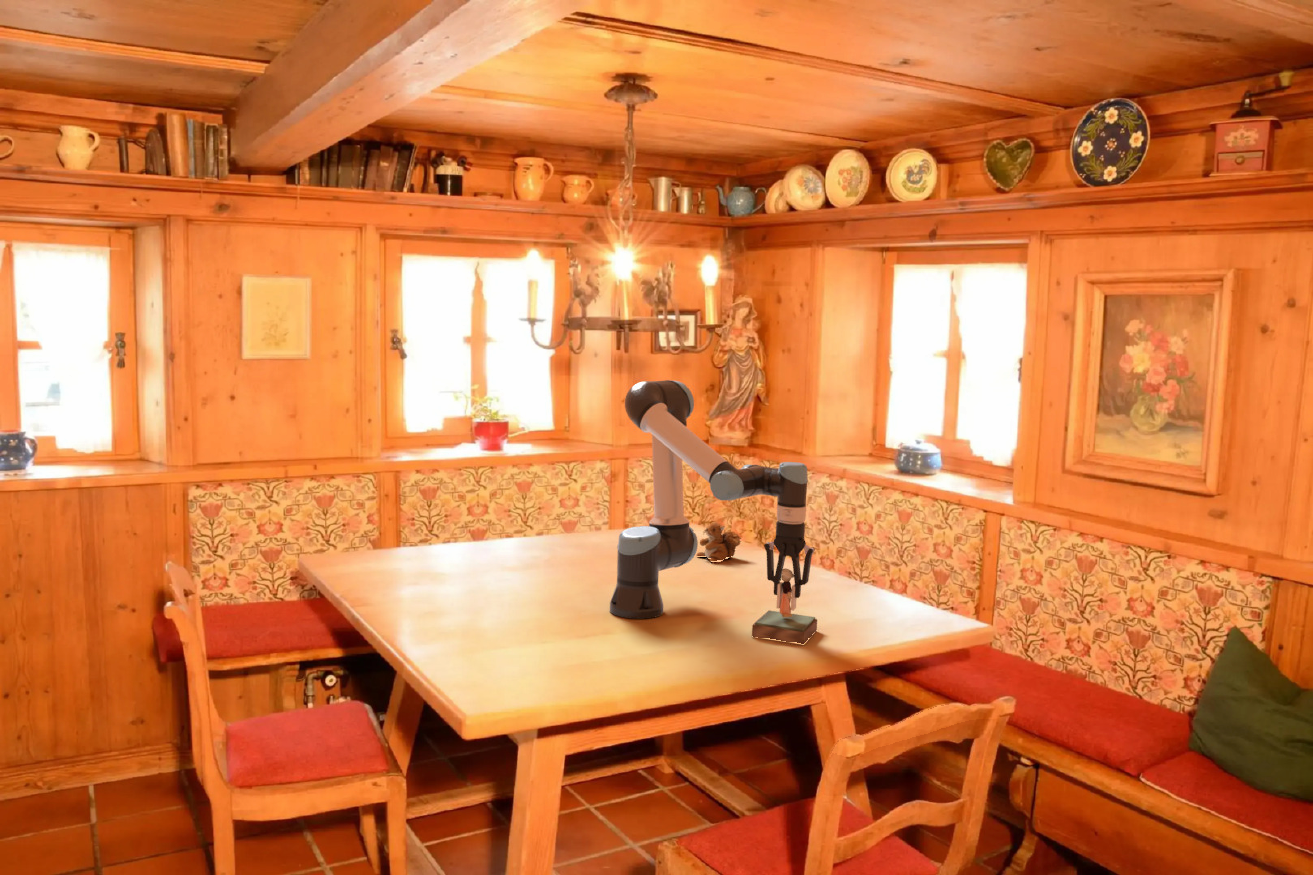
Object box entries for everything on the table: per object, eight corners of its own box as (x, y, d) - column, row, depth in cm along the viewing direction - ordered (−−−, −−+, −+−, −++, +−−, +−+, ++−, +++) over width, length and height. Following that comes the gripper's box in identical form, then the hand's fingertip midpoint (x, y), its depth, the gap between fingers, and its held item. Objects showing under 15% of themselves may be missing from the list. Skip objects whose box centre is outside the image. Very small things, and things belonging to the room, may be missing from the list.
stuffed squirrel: (694, 557, 365) (695, 520, 363) (729, 554, 370) (731, 518, 369) (706, 563, 356) (708, 525, 354) (743, 561, 361) (745, 523, 360)
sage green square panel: (751, 637, 275) (752, 622, 275) (766, 623, 288) (767, 609, 288) (803, 645, 270) (804, 630, 269) (816, 631, 283) (817, 616, 282)
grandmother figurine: (774, 612, 282) (774, 565, 280) (788, 611, 282) (788, 565, 281) (784, 619, 274) (784, 572, 273) (798, 618, 275) (798, 571, 274)
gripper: (757, 520, 275) (752, 607, 278) (817, 527, 269) (812, 615, 272) (765, 515, 282) (760, 600, 285) (824, 522, 276) (819, 608, 279)
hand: (786, 607), depth 278 cm, fingers closed on grandmother figurine, 3 cm apart
